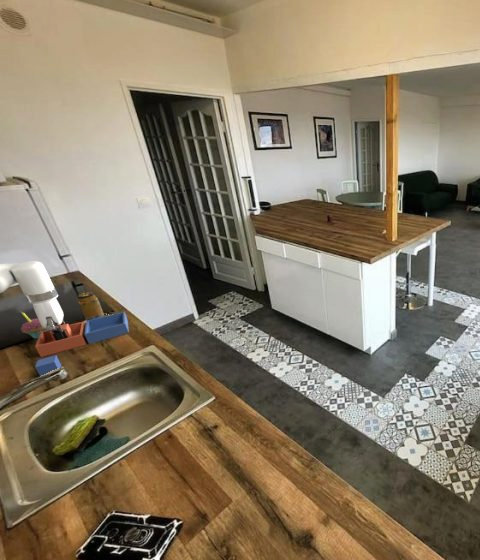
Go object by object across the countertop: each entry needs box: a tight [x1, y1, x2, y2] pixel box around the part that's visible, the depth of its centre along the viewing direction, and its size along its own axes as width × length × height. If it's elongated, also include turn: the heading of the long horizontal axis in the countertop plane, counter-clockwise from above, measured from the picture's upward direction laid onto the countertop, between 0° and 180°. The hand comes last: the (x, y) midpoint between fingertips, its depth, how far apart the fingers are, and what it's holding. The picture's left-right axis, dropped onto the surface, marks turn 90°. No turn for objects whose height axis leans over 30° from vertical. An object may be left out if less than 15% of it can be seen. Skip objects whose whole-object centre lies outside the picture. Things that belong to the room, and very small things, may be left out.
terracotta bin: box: [35, 320, 88, 358], centre depth 119 cm, size 12×12×4 cm
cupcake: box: [20, 311, 50, 339], centre depth 122 cm, size 9×8×12 cm
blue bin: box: [85, 311, 130, 345], centre depth 126 cm, size 12×12×4 cm
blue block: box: [34, 354, 62, 376], centre depth 104 cm, size 4×4×4 cm
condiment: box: [77, 291, 109, 324], centre depth 134 cm, size 7×8×12 cm
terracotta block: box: [50, 323, 72, 341], centre depth 118 cm, size 4×4×4 cm
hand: (63, 337), depth 119 cm, fingers closed on terracotta block, 4 cm apart
